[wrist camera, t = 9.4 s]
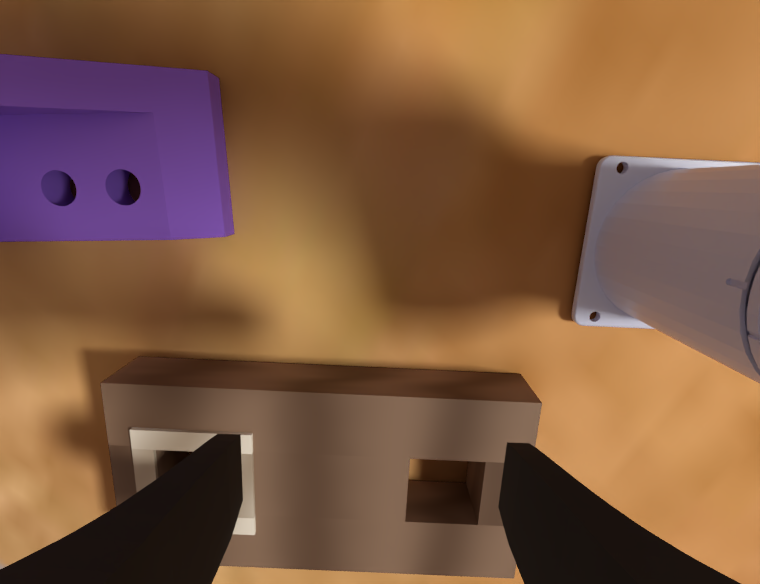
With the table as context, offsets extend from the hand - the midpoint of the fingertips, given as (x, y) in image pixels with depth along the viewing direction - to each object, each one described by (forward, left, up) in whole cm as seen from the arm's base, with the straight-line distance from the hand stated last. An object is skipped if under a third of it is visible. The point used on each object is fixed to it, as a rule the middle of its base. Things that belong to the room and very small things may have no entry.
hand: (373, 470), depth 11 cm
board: (+2, +7, -10) cm, 13 cm away
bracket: (+13, -8, -11) cm, 19 cm away
